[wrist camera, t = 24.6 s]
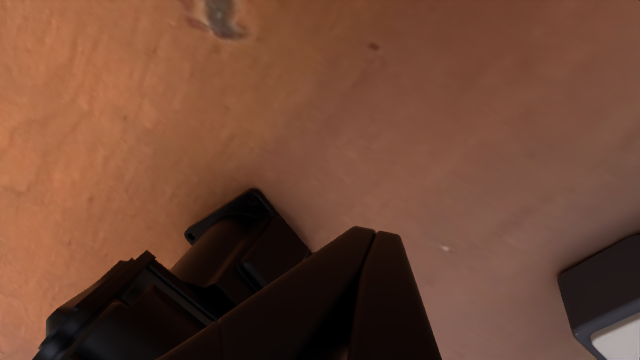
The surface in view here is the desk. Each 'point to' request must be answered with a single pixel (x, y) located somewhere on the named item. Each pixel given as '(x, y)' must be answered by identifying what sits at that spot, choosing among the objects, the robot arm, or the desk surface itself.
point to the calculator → (606, 301)
